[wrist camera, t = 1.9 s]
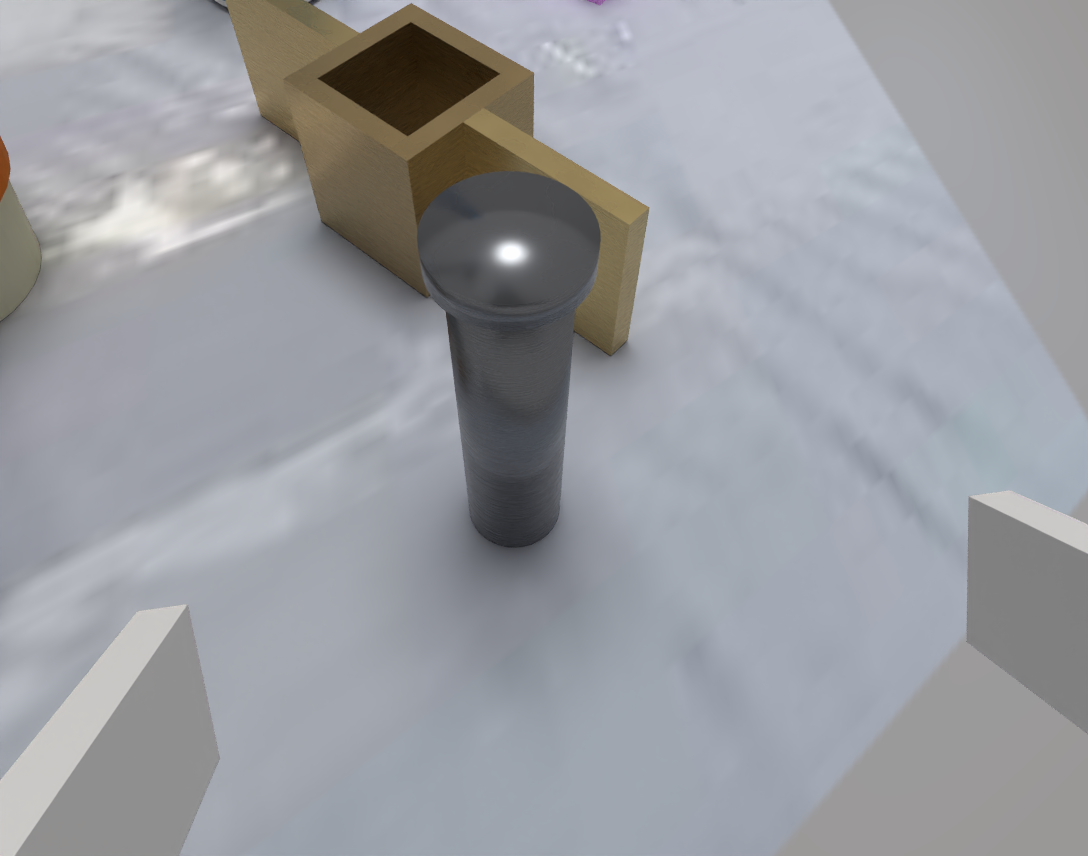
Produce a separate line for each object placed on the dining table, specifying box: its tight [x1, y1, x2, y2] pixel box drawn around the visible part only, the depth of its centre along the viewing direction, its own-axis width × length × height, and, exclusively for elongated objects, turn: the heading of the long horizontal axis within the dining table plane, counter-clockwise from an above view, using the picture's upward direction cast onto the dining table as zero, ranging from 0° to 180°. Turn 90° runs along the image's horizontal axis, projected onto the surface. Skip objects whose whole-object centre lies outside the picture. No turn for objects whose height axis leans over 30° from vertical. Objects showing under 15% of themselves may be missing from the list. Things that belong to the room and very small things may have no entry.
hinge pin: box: [417, 171, 601, 547], centre depth 28 cm, size 5×5×15 cm
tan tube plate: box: [226, 0, 649, 356], centre depth 39 cm, size 24×7×8 cm, turn 49°
